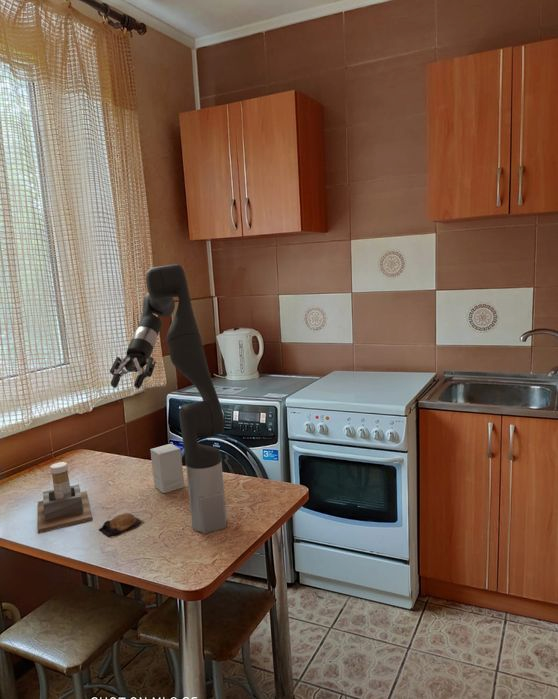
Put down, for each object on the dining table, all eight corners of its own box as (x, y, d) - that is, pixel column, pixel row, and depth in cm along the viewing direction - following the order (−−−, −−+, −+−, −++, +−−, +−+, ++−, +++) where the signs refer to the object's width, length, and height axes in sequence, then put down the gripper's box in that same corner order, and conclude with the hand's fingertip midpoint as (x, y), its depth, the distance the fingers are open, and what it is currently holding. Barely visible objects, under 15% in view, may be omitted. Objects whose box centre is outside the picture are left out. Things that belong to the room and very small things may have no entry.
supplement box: (185, 487, 172) (181, 448, 169) (162, 494, 167) (158, 454, 165) (175, 480, 178) (171, 442, 176) (153, 486, 174) (149, 448, 172)
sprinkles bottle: (70, 503, 163) (64, 460, 161) (75, 508, 159) (69, 464, 157) (54, 508, 160) (47, 464, 158) (59, 513, 157) (52, 468, 154)
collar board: (92, 519, 153) (90, 501, 152) (38, 532, 148) (35, 513, 147) (86, 494, 172) (84, 477, 171) (38, 504, 166) (35, 487, 165)
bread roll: (130, 516, 155) (129, 504, 154) (147, 525, 149) (145, 512, 149) (95, 531, 147) (94, 519, 147) (111, 541, 142) (110, 527, 141)
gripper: (118, 337, 178) (99, 380, 169) (155, 336, 172) (138, 380, 164) (130, 350, 183) (112, 392, 175) (166, 350, 178) (150, 393, 169)
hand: (124, 386), depth 169 cm, fingers open, 8 cm apart
